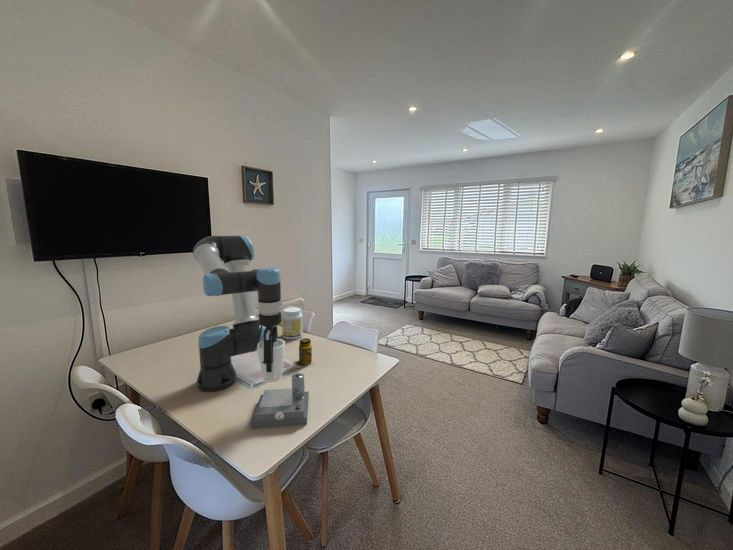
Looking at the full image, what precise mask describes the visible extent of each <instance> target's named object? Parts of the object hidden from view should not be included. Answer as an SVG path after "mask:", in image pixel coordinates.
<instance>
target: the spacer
mask: <svg viewBox="0 0 733 550" xmlns="http://www.w3.org/2000/svg"><path fill="white" fill-rule="evenodd" d="M291 388H292V398H293V399H295V400H299V399H302V398H304V392H305V391H304V388H305V374H304V373H301V372H297V373H294V374H292V376H291Z"/></svg>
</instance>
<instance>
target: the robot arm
mask: <svg viewBox="0 0 733 550" xmlns="http://www.w3.org/2000/svg"><path fill="white" fill-rule="evenodd" d="M194 245H195V246H193V251H192V254H193V255H192V256H193V258H194V260H195V262H197V263H198V264H200V266H201V270H202V271H203V273H204V275H203V277H202V287H203V288H202V289H203V292H204V295H205V296H206V297H214V296H216V297H219V296H225V295H231V296H232V304H233V309H234V317H235V321H234V322H232V328H230V327H229V326H227V325H219V326H214V327H211V328H207V329H206V330H204V331H202V332H201V333H200V334H199V335H198V344H197V347H198V350H199V351H198V352H199V364H200V369H199V372H198V376H197V378H196V388H197V389H198V390H199V391H203V392H207V393H208V392H218V391H220V390H224V389H227V388H229V387H231V386H232V385H234V384H235V383H236V382H237V380H238V379H237V372H236V369H235V368H234V365H233V363H232V357H235V356H239V355H240V356H241V355H244V354H248V353H254V352H257V345H258V343H260V342H261V341H264V361H262V363H264V364H265V375H266V380H274V361H273V344H274V342H276V339H279V336H278V335H279V333H278V325H280V324H281V323H282V312H281V311H282V306H283V305H284V304H283V302H281V301H282V299H281V298H282V297H281V294H282V292H281V291H282V289H281V288H282V287H281V285H282V284H281V282H282V281H281V279H282V278H281V271H280V270H279V268H277V267H259V269H258V268H254V269H251V270H250V269H249V266H250V265H251V263H252V260H254V258H255V254H254V252H255V250H254V246H253V243H252V241H251V239H250V238H249V237H248V236H246V235H237V234H236V235H211V236H210V235H209V236H206V237H204V238H202V239H201V240H199V241H198V242H197V243H196V244H194ZM253 292H257V307H258V308H257V310H258V313H259V314H258V317H257V313H256V307H255V302H254V295H253Z"/></svg>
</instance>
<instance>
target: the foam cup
mask: <svg viewBox="0 0 733 550" xmlns="http://www.w3.org/2000/svg"><path fill="white" fill-rule="evenodd" d="M285 351H286V341H285V340H283V339H280V338H278V339H276V342H274V344H273V361H274V380H266V375H265V364H264V363H262V361H264V341H261V342H260V343H258V345H257V351H256V352H257V354H258V360H259V363H260V364H259V365H260V370H261V374H262V378H263V379H262V380H263V381H264V382H266V383H274V382H278V381H280V380H281V379H282V375H283V367H284V359H285V357H284V356H285Z"/></svg>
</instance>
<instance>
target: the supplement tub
mask: <svg viewBox="0 0 733 550" xmlns="http://www.w3.org/2000/svg"><path fill="white" fill-rule="evenodd" d="M282 311H283V312H282V314H281V317H282V321H281V323H282V325H281V328H282V331H281V332H282V337H283V338H284V339H285V340H298V339H300V338H301V337H302V336H303V334H304V328H303V327H304V324H303V321H304V320H303V318H304V317H303V313H302V309H301V307H297V306H291V307H286V308H284V309H283V310H282Z"/></svg>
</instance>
